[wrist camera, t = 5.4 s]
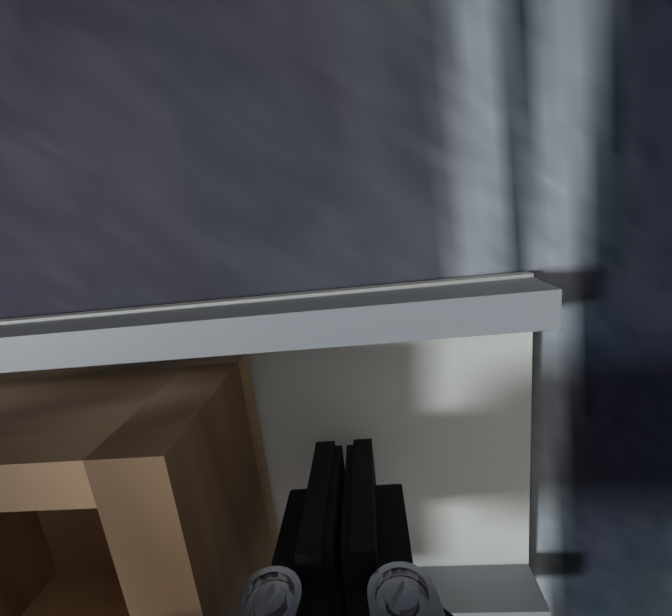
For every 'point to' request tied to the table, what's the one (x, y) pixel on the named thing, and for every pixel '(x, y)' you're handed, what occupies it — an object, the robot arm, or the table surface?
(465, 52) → the table surface
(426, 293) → the track
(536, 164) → the table surface
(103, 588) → the brown wooden open box
